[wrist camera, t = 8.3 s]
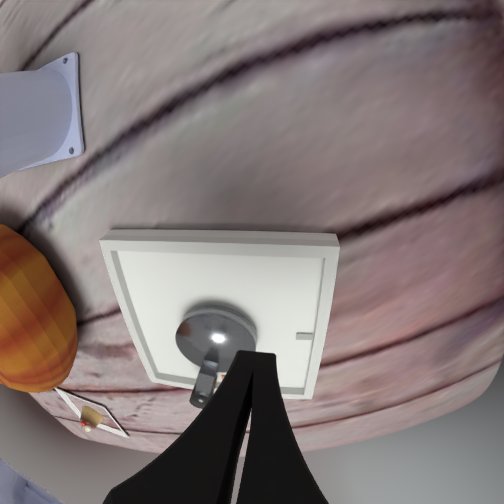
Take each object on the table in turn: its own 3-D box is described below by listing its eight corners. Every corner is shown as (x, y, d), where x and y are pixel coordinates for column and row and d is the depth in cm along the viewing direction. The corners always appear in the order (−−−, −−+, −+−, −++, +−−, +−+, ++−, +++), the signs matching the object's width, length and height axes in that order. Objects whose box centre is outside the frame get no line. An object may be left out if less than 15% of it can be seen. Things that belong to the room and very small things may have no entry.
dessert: (56, 383, 38) (45, 401, 33) (107, 402, 36) (95, 425, 32) (84, 416, 43) (75, 433, 39) (131, 434, 42) (124, 454, 38)
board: (156, 368, 27) (151, 381, 26) (111, 229, 20) (98, 240, 18) (311, 384, 25) (311, 399, 24) (335, 233, 18) (339, 246, 16)
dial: (184, 294, 20) (169, 324, 17) (267, 318, 20) (262, 351, 17) (176, 370, 24) (165, 397, 22) (237, 388, 25) (232, 416, 22)
